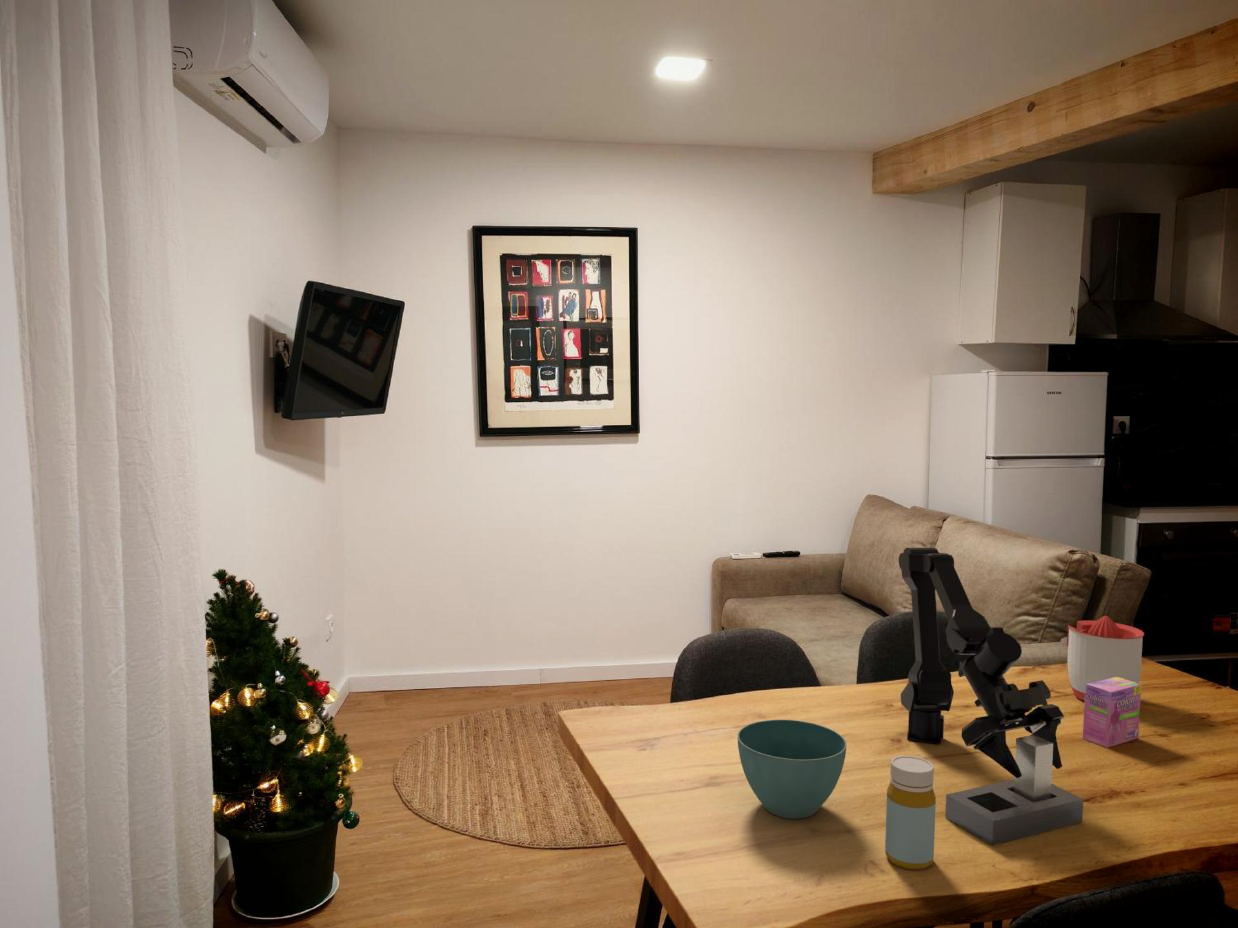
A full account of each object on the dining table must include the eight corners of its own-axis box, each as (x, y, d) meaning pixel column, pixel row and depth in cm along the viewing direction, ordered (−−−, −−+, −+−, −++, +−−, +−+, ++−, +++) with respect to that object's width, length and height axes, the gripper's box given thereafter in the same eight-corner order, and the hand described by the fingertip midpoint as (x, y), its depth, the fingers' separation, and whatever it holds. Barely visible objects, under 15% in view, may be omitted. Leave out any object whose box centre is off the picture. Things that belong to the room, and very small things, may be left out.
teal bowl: (731, 783, 159) (732, 717, 158) (832, 785, 158) (833, 719, 157) (742, 832, 141) (743, 758, 140) (856, 834, 140) (858, 760, 139)
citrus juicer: (1071, 682, 217) (1075, 603, 216) (1149, 700, 204) (1154, 616, 203) (1046, 696, 207) (1049, 613, 205) (1127, 716, 194) (1131, 628, 192)
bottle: (877, 848, 136) (880, 755, 135) (921, 846, 137) (924, 753, 135) (895, 872, 129) (899, 774, 128) (941, 870, 130) (945, 773, 129)
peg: (1032, 822, 145) (1035, 746, 144) (1012, 812, 148) (1016, 738, 147) (1049, 818, 146) (1053, 743, 145) (1029, 808, 150) (1033, 734, 149)
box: (1108, 748, 176) (1110, 691, 175) (1081, 738, 181) (1084, 683, 180) (1139, 739, 181) (1142, 683, 180) (1113, 730, 186) (1115, 675, 185)
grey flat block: (992, 845, 137) (993, 821, 137) (945, 817, 146) (946, 794, 146) (1082, 821, 145) (1083, 798, 145) (1032, 796, 154) (1033, 774, 154)
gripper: (976, 671, 145) (1028, 761, 136) (1057, 658, 153) (1111, 743, 143) (940, 702, 153) (987, 789, 144) (1018, 688, 160) (1068, 770, 151)
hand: (1039, 772), depth 145 cm, fingers open, 9 cm apart
